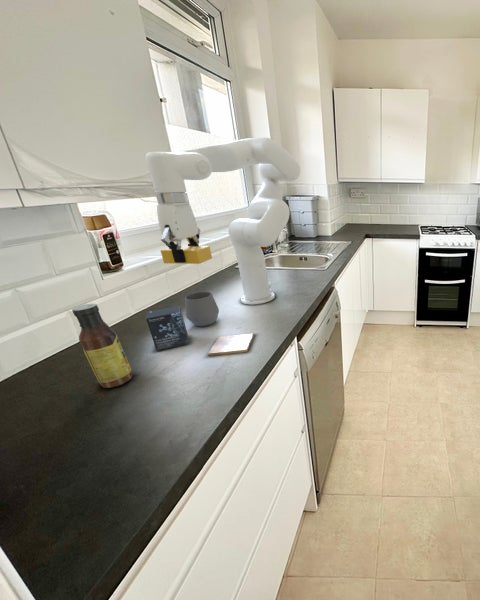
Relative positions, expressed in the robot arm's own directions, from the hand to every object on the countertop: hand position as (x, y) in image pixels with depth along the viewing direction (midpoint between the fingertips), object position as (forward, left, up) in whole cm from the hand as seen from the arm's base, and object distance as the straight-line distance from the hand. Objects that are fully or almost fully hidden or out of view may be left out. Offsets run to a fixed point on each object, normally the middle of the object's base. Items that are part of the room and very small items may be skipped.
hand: (188, 258), depth 97 cm
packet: (0, 0, -1) cm, 1 cm away
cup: (0, 0, -23) cm, 23 cm away
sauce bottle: (+32, -2, -23) cm, 39 cm away
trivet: (+14, +17, -22) cm, 31 cm away
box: (+14, -1, -23) cm, 26 cm away
